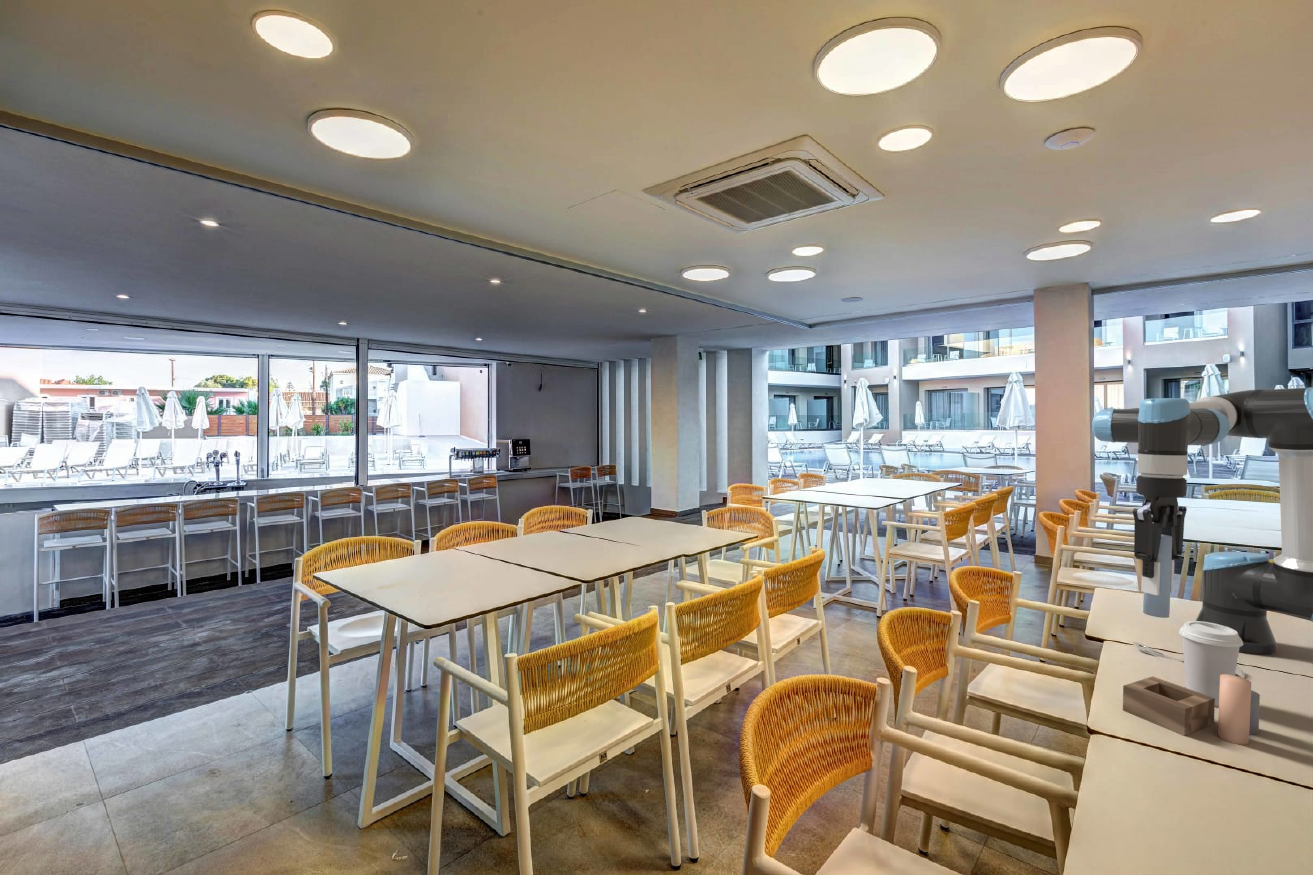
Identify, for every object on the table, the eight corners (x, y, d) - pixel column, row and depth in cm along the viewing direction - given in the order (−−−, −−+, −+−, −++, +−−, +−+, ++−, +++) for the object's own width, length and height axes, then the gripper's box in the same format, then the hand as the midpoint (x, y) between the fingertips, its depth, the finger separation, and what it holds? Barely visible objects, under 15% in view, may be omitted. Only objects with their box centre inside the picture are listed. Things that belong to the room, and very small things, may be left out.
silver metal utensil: (1131, 636, 143) (1136, 632, 146) (1129, 650, 143) (1135, 645, 146) (1245, 669, 127) (1248, 663, 130) (1243, 685, 127) (1246, 678, 130)
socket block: (1152, 699, 119) (1152, 676, 119) (1214, 723, 110) (1214, 698, 110) (1122, 710, 115) (1123, 685, 115) (1184, 735, 106) (1185, 709, 106)
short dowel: (1234, 720, 111) (1235, 685, 111) (1263, 731, 107) (1264, 694, 107) (1223, 725, 109) (1224, 689, 109) (1252, 736, 106) (1253, 698, 105)
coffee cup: (1254, 713, 114) (1257, 638, 113) (1197, 708, 115) (1200, 635, 115) (1217, 690, 123) (1220, 620, 122) (1166, 686, 125) (1168, 618, 124)
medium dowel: (1224, 730, 108) (1227, 672, 107) (1253, 741, 104) (1256, 681, 103) (1213, 735, 106) (1215, 676, 106) (1241, 746, 102) (1244, 686, 102)
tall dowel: (1150, 609, 119) (1153, 532, 118) (1174, 616, 115) (1176, 536, 114) (1138, 612, 117) (1141, 534, 116) (1161, 618, 113) (1164, 538, 113)
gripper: (1164, 472, 121) (1160, 582, 122) (1113, 475, 115) (1109, 591, 116) (1209, 476, 114) (1205, 592, 115) (1157, 479, 108) (1153, 602, 109)
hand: (1157, 591), depth 116 cm, fingers closed on tall dowel, 4 cm apart
